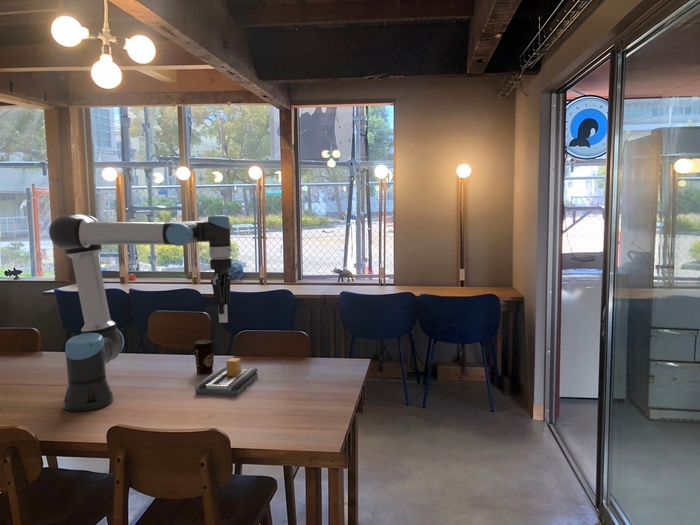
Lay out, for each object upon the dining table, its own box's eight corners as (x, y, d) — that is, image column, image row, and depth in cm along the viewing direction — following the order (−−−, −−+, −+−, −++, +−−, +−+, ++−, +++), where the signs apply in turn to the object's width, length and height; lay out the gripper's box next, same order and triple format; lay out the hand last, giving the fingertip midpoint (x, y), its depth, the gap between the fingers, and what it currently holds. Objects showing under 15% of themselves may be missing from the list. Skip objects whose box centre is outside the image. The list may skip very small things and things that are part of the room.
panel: (237, 395, 188) (237, 387, 188) (195, 393, 191) (195, 384, 191) (257, 377, 208) (257, 369, 207) (219, 375, 211) (218, 367, 210)
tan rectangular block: (236, 376, 203) (236, 361, 202) (227, 376, 204) (226, 361, 203) (240, 373, 207) (240, 358, 206) (231, 372, 208) (230, 358, 207)
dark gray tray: (235, 391, 187) (235, 387, 187) (194, 389, 190) (194, 385, 190) (257, 371, 209) (257, 368, 208) (220, 370, 211) (220, 366, 211)
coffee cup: (219, 370, 218) (218, 339, 217) (212, 376, 210) (210, 344, 209) (198, 369, 219) (197, 338, 218) (190, 376, 211) (189, 344, 209)
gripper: (222, 260, 186) (225, 326, 188) (237, 256, 198) (239, 318, 201) (202, 259, 187) (205, 325, 190) (218, 256, 200) (221, 318, 202)
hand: (223, 322), depth 195 cm, fingers closed
